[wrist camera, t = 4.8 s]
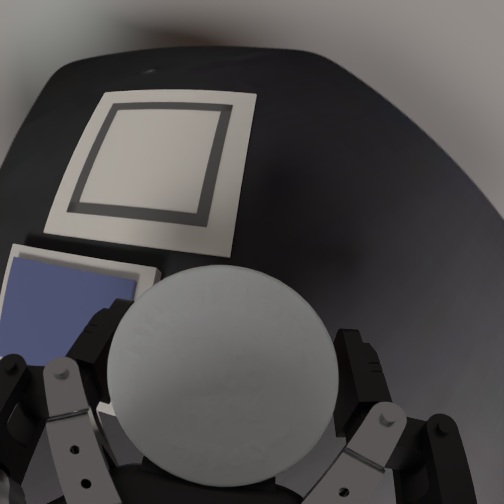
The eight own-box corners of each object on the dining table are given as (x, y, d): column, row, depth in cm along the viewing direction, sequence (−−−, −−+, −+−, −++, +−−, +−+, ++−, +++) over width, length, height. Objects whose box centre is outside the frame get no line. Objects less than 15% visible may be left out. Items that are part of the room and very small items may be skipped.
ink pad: (161, 272, 18) (154, 265, 16) (140, 417, 15) (131, 423, 14) (22, 248, 18) (9, 241, 16) (1, 364, 15) (-14, 363, 14)
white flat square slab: (256, 95, 23) (256, 93, 23) (230, 257, 18) (229, 256, 18) (105, 93, 23) (104, 91, 23) (44, 232, 19) (42, 231, 18)
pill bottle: (198, 294, 18) (136, 208, 7) (299, 324, 17) (387, 280, 7) (167, 392, 16) (61, 442, 5) (270, 423, 15) (312, 524, 5)
